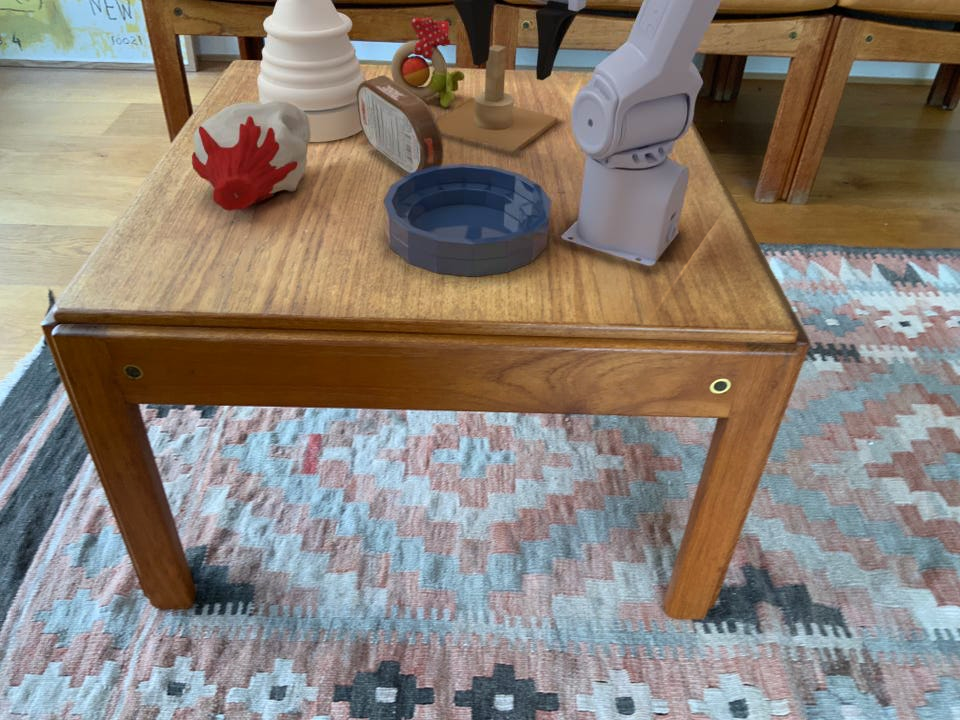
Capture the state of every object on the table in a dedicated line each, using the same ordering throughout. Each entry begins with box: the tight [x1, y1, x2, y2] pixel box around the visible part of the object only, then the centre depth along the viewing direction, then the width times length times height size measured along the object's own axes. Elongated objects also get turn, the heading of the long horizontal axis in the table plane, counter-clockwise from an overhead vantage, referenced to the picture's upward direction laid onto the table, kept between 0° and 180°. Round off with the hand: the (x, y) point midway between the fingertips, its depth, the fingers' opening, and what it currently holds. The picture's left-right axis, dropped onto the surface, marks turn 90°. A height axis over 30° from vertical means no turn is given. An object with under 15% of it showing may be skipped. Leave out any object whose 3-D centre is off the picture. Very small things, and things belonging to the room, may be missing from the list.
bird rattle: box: [390, 16, 465, 109], centre depth 100 cm, size 6×11×9 cm
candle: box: [191, 101, 311, 212], centre depth 79 cm, size 9×11×15 cm
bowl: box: [382, 163, 552, 278], centre depth 75 cm, size 16×16×4 cm
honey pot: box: [256, 0, 367, 143], centre depth 91 cm, size 13×13×18 cm
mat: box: [436, 98, 558, 152], centre depth 97 cm, size 12×12×1 cm
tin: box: [356, 75, 444, 174], centre depth 86 cm, size 15×3×8 cm, turn 34°
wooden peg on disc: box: [473, 44, 515, 130], centre depth 94 cm, size 5×5×9 cm
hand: (511, 69), depth 84 cm, fingers open, 7 cm apart
